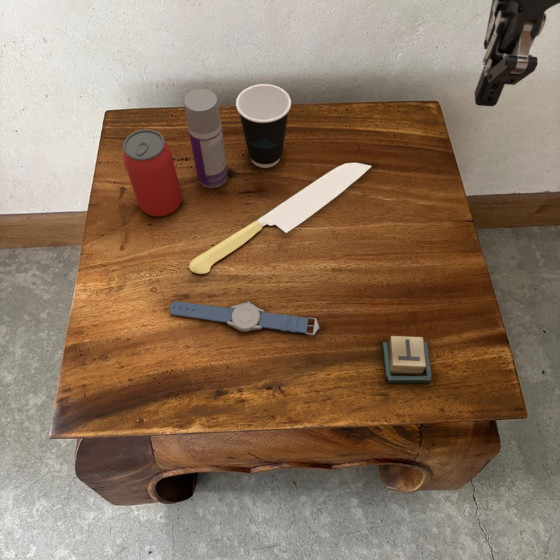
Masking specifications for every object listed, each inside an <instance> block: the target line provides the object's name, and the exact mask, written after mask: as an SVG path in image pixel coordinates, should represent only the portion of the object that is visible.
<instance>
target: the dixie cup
mask: <svg viewBox="0 0 560 560" xmlns="http://www.w3.org/2000/svg"><path fill="white" fill-rule="evenodd" d="M235 100H236V101H235V107H236V110H237V112H238V113H239V117H240V122H241V126H242V131H243V136H244V140H245V145H246V149H247V155H248V157H249V159H250V161H251V162H252V163H253V165H255V166H256V167H259V168H262V169H268V168H272V167H275V166H276V165H277V164H278V163H279V162H280V160H281V157H282V156H283V151H284V145H285V138H286V130H287V123H288V117H289V111H290V110H291V107H292V100H291V97H290V95H289V93H288V92H287V91H286V90H285V89H283V88H282V87H280V86H277V85H274V84H268V83H258V84H254V85H251V86H249V87H247V88H245V89H243V90H242V91H241V92H240V93H239V94H238V96H237V98H236V99H235Z"/></svg>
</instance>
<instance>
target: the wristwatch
mask: <svg viewBox="0 0 560 560" xmlns="http://www.w3.org/2000/svg"><path fill="white" fill-rule="evenodd" d="M169 314H170V315H171V316H176V317H184V318H190V319H191V318H192V319H199V320H205V321H212V322H217V323H225V324H227V326H230V327H232V328H234V329H236V330H237V331H240V332H243V333H248V332H251V331H255V330H262V329H270V330H279V331H280V332H290V333H294V334H295V333H300V334H305V335H309V336H315V335H316V333H317V332H318V331H319V329H320V328H321V327H320V325H319V322H318V320H317V318H316V317H303V316H298V315H289V314H286V313H285V314H284V313H283V314H280V313H274V312H273V313H272V312H265V310H264V309H262V308H260V307H258V306H257V305H255V304H254V303H252V302H251V301H246V302H243V303H240V304H236V305H231V306H230V307H227V306H217V305H211V304H210V305H208V304H201V303H192V302H184V301H183V302H182V301H173V302H171V304H170V306H169ZM309 320H314V323H313V325H308V324H309ZM308 327H313V331H312V333H311V332H308Z"/></svg>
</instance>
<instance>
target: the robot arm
mask: <svg viewBox="0 0 560 560" xmlns="http://www.w3.org/2000/svg"><path fill="white" fill-rule="evenodd" d="M559 4H560V0H491V4H490V11H489V16H488V21H487V27H486V32H485V37H484V40H483V49H484V50H485V54H484V56H483V58H482V62H483V63H482V64H483V68H482V71H481V73H480V76H479V79H478V82H477V84H476V87H475V90H474V101H475V102H474V103H475V105H476V106H481V107H495V106H496V105H497V104H498V101H499V100H500V97H501V94H502V92H503V90H504V88H505V85H508V86H509V85H511V86H515V85H517V84H518V83H520V82H521V81H522V80H524V79H525V78H526V77H528V76H529V75H531V74H532V73H534V72H535V70H536V69H537V67H538V64H539V61H538V56H533V55H532V54H530V50H531V48H532V46H533V44H534V42H535V39H536V38H537V37H538V36H540V35H541V33H542V31H543V29H544V27H545V25H546V21H547V14H546V13H545V12H546V11H548V10H549V9H551V8H552V7H555V6H557V5H559Z"/></svg>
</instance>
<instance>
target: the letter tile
mask: <svg viewBox="0 0 560 560" xmlns="http://www.w3.org/2000/svg"><path fill="white" fill-rule="evenodd" d="M424 342H425V341H424V337H423V336H404V335H391V336H390V338H389V340H388V342H387V343H388V352H389V361H390V370H391V374H394V375H395V374H396V375H398V374H400V375H418V376H422V375H423V373H424V369H425V367H426V362H425V352H424Z"/></svg>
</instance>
